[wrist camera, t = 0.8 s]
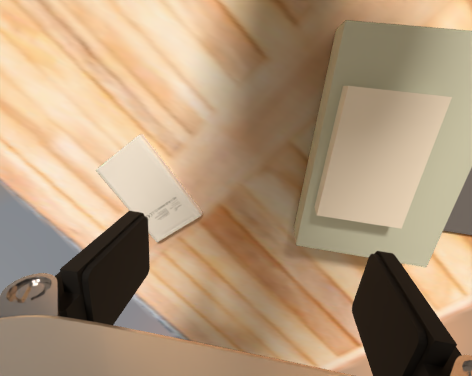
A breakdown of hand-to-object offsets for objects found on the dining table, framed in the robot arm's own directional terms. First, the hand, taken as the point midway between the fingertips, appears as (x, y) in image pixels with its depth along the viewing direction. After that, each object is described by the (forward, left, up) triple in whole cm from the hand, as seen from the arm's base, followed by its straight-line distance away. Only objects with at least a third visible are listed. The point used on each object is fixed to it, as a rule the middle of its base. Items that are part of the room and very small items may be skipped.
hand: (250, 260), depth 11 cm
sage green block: (-2, +12, -21) cm, 24 cm away
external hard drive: (+7, -14, -22) cm, 27 cm away
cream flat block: (-2, +10, -17) cm, 20 cm away
